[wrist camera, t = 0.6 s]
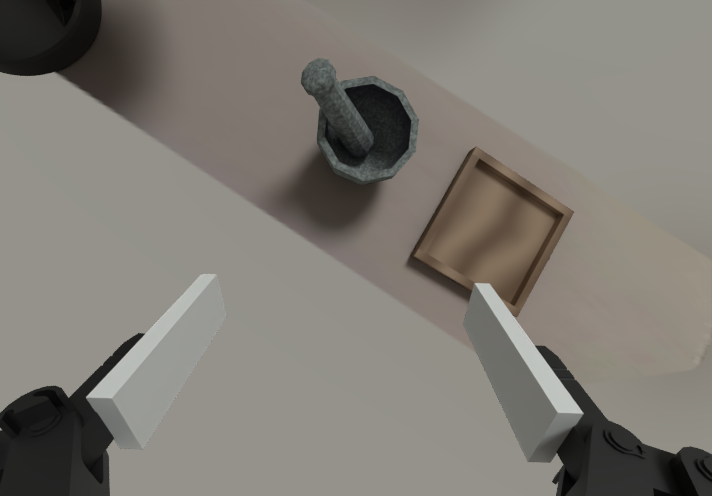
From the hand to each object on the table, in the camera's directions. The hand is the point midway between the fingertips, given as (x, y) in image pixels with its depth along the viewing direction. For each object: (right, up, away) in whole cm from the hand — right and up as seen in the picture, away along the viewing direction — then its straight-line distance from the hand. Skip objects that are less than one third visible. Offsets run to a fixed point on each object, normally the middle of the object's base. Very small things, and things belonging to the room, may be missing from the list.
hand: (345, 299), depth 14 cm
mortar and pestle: (0, +14, +18) cm, 23 cm away
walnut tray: (+17, +4, +20) cm, 27 cm away
